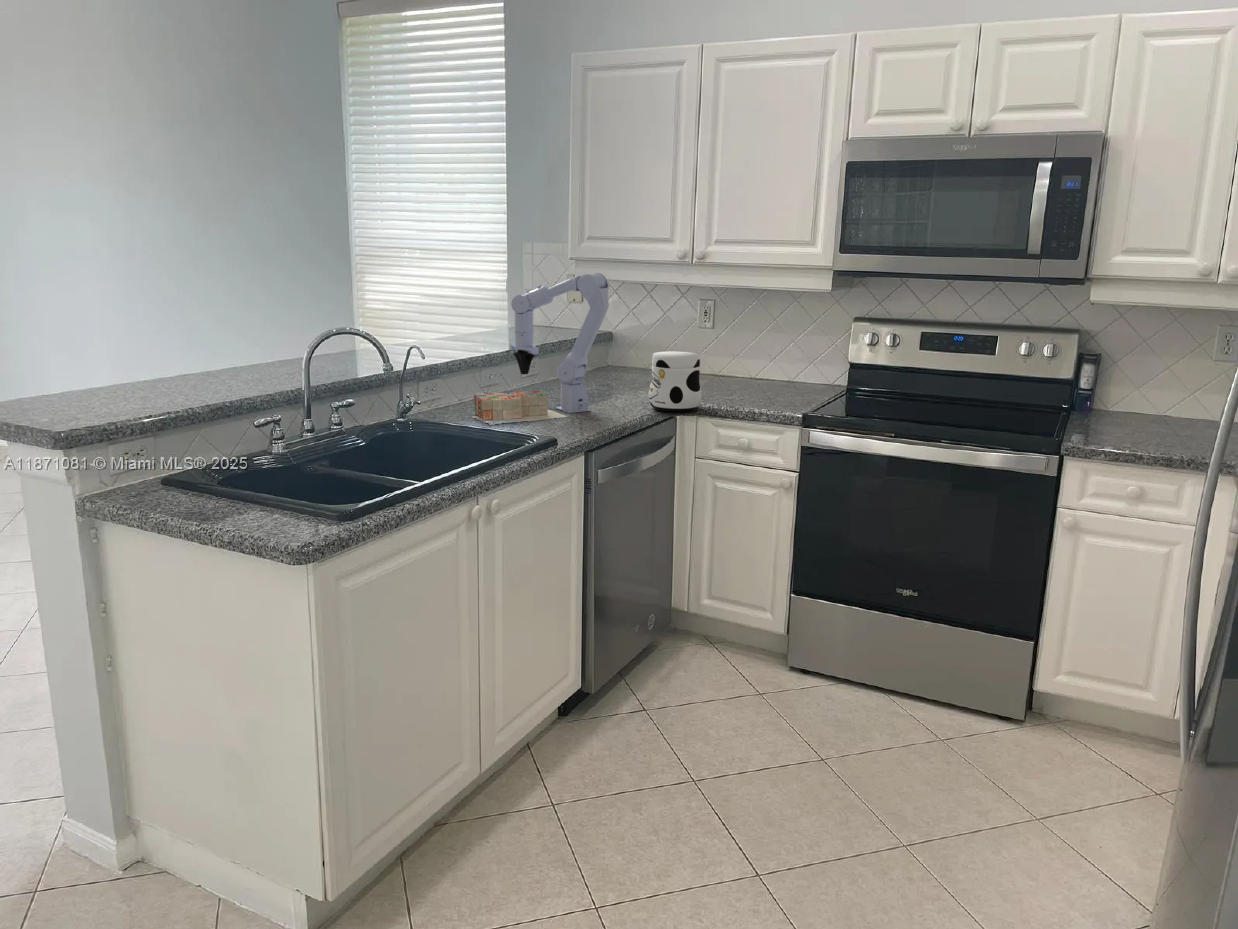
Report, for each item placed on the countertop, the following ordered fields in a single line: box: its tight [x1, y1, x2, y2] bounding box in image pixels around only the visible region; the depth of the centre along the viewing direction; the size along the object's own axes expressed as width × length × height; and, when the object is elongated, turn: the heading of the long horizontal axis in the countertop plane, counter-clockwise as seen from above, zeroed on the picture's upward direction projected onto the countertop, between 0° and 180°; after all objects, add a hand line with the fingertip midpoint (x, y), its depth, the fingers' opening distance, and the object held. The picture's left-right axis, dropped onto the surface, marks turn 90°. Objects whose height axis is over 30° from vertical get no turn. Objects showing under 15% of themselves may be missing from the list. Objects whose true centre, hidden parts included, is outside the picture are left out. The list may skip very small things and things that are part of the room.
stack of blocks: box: [473, 390, 549, 421], centre depth 280 cm, size 21×6×12 cm
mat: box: [471, 409, 569, 426], centre depth 279 cm, size 14×26×1 cm, turn 122°
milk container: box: [648, 350, 703, 412], centre depth 292 cm, size 17×17×18 cm
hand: (524, 373), depth 295 cm, fingers closed
